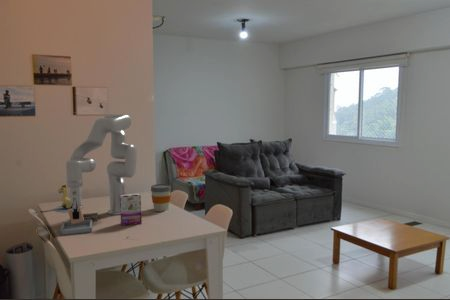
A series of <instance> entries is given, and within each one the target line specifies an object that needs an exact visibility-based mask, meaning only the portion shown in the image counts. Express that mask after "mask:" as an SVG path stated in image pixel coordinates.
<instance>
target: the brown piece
mask: <svg viewBox="0 0 450 300" xmlns="http://www.w3.org/2000/svg"><path fill="white" fill-rule="evenodd" d="M82 214H83V217H84V220H92V222H97V221H98V220H99V219H98V217H99V216H98V215H99V213H98V212H92V213H82Z"/></svg>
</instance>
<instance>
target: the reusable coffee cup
mask: <svg viewBox="0 0 450 300" xmlns="http://www.w3.org/2000/svg"><path fill="white" fill-rule="evenodd" d="M150 191H151V201H152V203H153V210H154V211H156V212H165V211H168V210H169V208H170V202H171V192H172V187H171V184H166V183H159V184H153V185H150Z"/></svg>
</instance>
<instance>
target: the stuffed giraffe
mask: <svg viewBox="0 0 450 300" xmlns="http://www.w3.org/2000/svg"><path fill="white" fill-rule="evenodd" d="M67 188H68V187H67V184H64V185H61V186H60V187H59V188H58V191H57V192H58V194H63V195H62V197H61V200H62V203H61V205H59V206H56V207H54V208H53V209H51V210H50V212H53V211H54V212H57V213H66V214H69V213H68V211H69V210H72V209H73V207H72V206H71V202H70V197H68V196H67V194H68V193H67ZM79 207H80V206H79ZM82 209H83V207H81V210H82Z"/></svg>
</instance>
